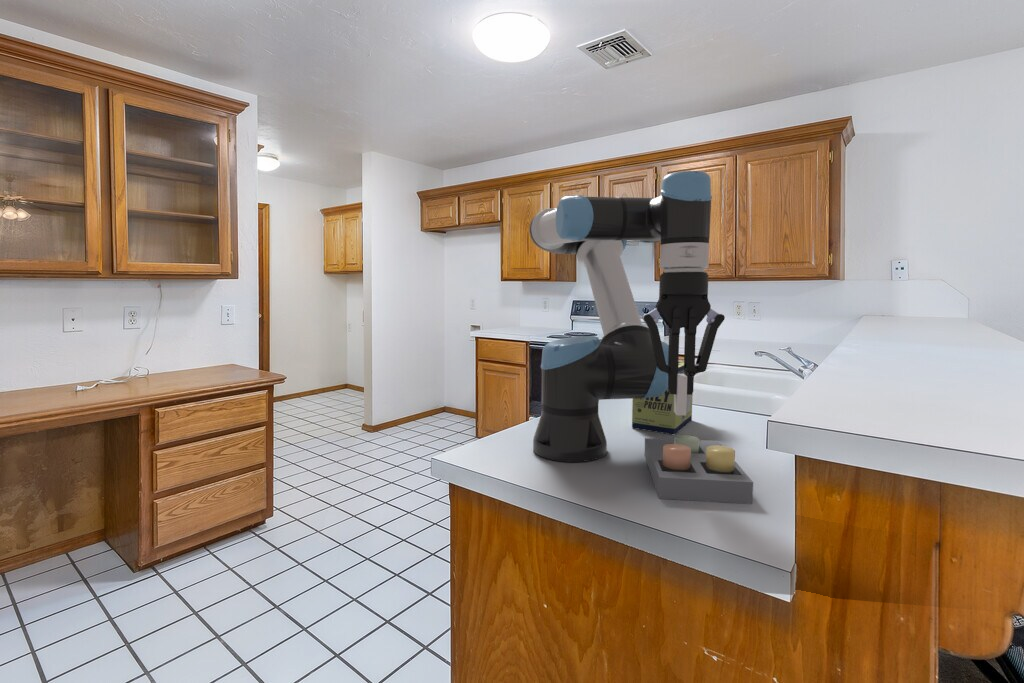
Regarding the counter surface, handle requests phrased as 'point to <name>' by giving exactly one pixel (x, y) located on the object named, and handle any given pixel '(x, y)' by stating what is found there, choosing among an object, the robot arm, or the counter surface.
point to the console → (696, 477)
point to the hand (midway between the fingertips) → (679, 413)
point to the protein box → (661, 411)
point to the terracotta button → (676, 456)
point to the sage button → (688, 442)
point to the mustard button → (720, 458)
